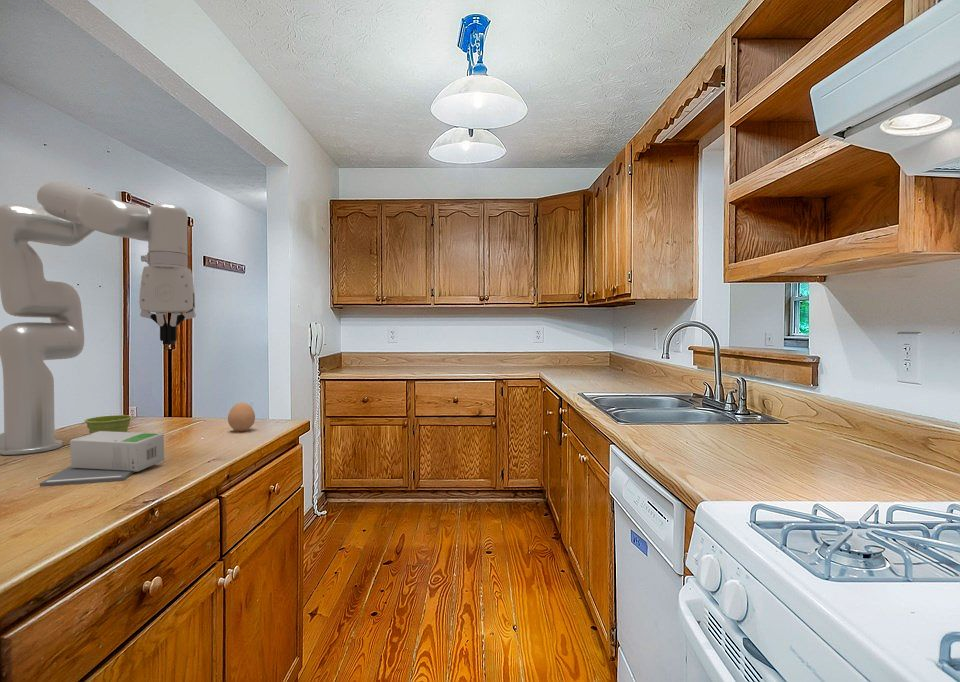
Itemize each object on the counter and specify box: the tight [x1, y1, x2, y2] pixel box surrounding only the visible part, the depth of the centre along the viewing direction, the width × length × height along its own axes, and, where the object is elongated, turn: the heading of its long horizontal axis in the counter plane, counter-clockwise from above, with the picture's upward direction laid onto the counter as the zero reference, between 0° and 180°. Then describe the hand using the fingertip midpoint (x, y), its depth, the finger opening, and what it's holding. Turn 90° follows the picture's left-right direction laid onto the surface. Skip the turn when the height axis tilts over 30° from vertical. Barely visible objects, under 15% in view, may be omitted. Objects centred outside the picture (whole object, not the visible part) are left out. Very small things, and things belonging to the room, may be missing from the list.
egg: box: [227, 402, 256, 432], centre depth 155 cm, size 7×7×8 cm
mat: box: [39, 465, 136, 487], centre depth 109 cm, size 14×13×1 cm
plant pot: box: [84, 414, 133, 434], centre depth 127 cm, size 9×9×9 cm
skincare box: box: [69, 431, 165, 472], centre depth 114 cm, size 8×7×16 cm
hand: (168, 344), depth 117 cm, fingers closed
